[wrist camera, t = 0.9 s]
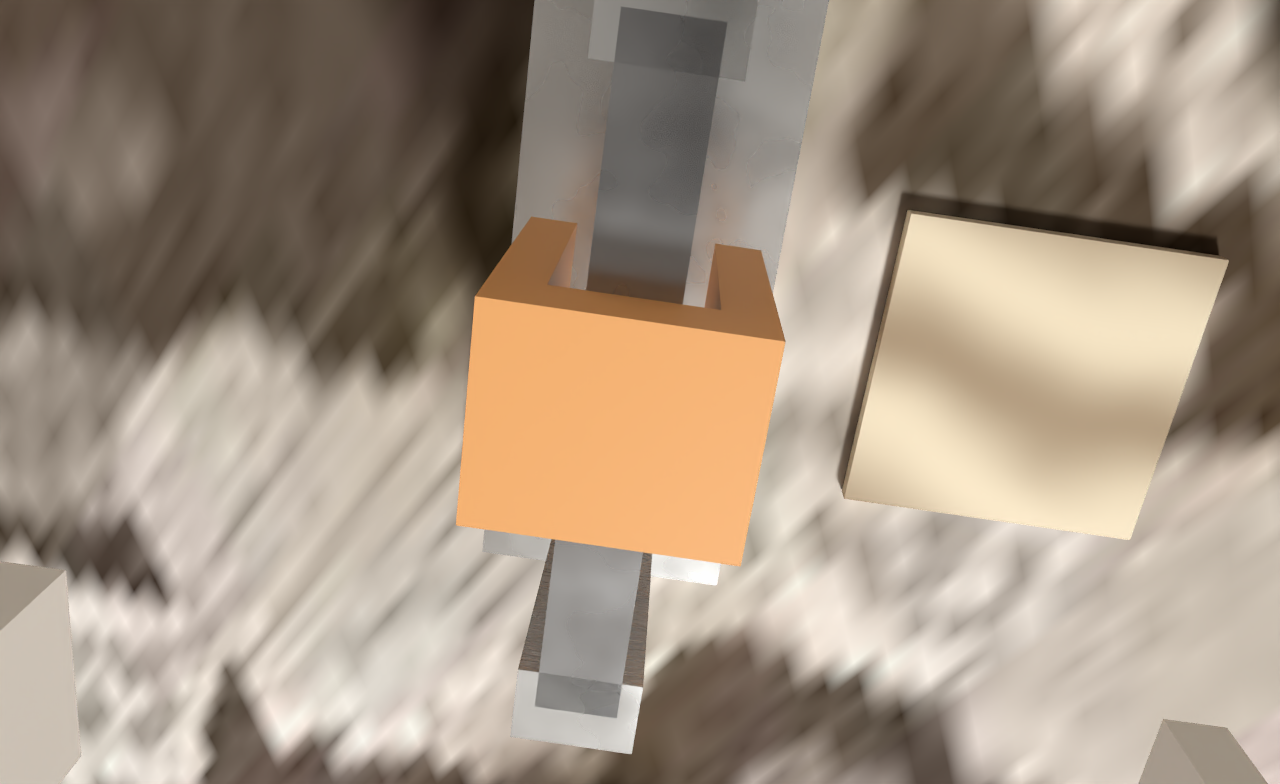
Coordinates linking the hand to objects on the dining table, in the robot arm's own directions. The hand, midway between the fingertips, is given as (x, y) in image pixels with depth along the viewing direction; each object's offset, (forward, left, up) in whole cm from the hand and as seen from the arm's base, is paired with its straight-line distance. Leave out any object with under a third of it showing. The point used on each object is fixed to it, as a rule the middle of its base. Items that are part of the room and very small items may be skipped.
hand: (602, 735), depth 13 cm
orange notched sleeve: (0, 0, -16) cm, 16 cm away
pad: (+2, +13, -23) cm, 26 cm away
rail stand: (0, 0, -23) cm, 23 cm away
